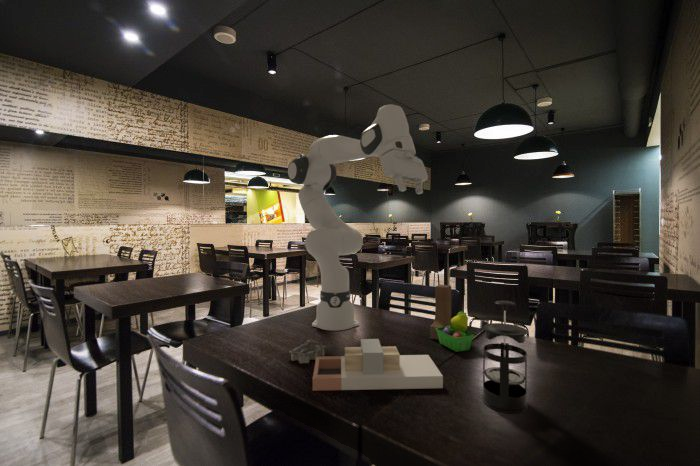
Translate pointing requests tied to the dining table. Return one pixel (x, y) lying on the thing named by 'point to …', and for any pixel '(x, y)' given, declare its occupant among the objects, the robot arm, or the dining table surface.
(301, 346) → the egg carton
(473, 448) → the dining table surface
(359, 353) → the maple bar
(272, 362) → the dining table surface
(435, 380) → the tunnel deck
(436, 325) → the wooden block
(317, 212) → the robot arm
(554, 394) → the dining table surface
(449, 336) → the fruit basket
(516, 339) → the french press
